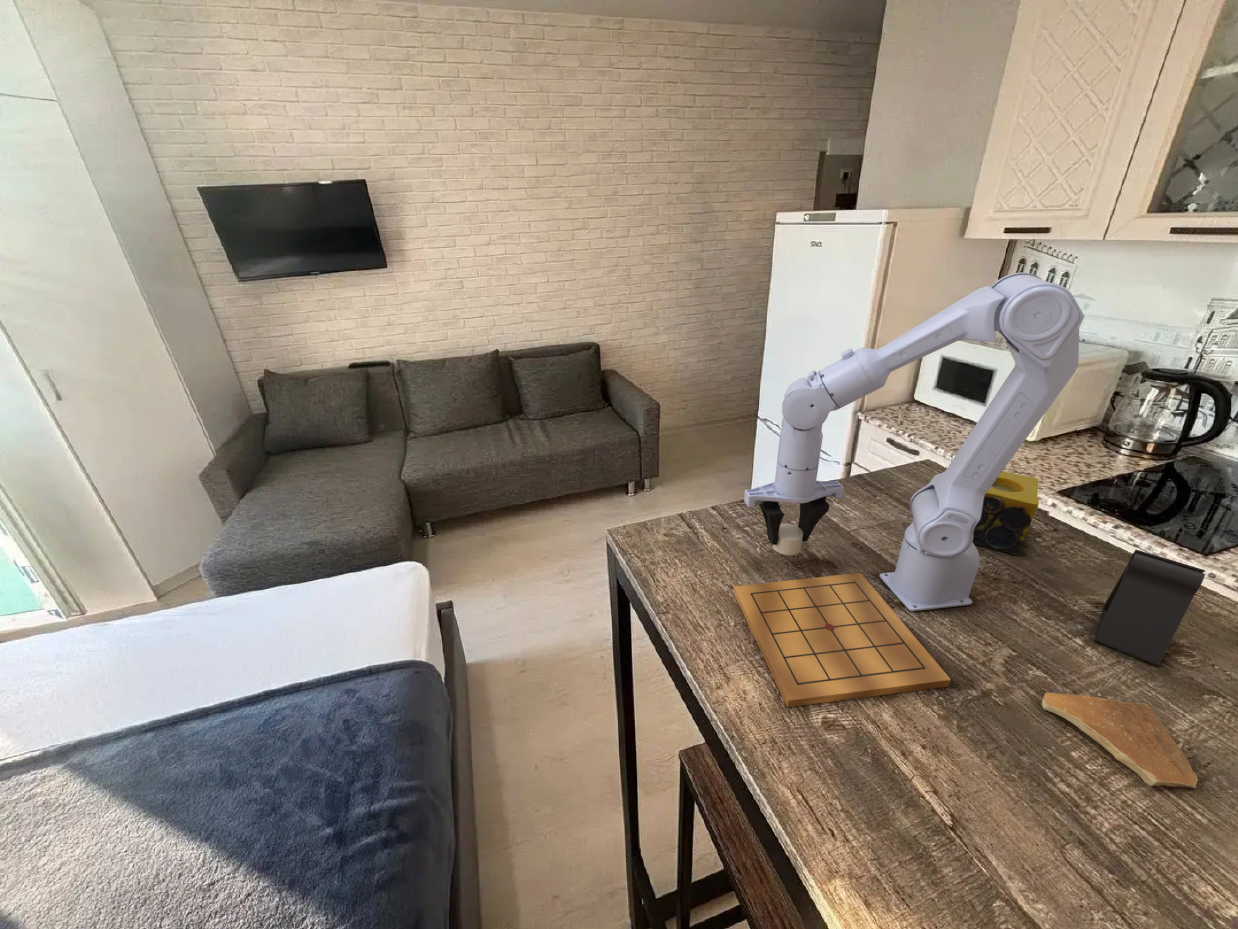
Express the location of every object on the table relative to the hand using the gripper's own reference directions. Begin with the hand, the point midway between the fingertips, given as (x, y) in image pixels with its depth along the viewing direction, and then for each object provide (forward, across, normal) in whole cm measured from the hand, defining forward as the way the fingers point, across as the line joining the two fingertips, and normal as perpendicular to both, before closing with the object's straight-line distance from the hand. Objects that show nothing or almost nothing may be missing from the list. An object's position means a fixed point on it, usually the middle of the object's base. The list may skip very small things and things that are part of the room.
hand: (787, 539), depth 80 cm
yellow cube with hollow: (+5, -37, -3) cm, 37 cm away
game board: (+5, 0, +15) cm, 16 cm away
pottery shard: (+5, -22, +34) cm, 41 cm away
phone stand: (+5, -38, +21) cm, 44 cm away
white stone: (+1, 0, 0) cm, 1 cm away
